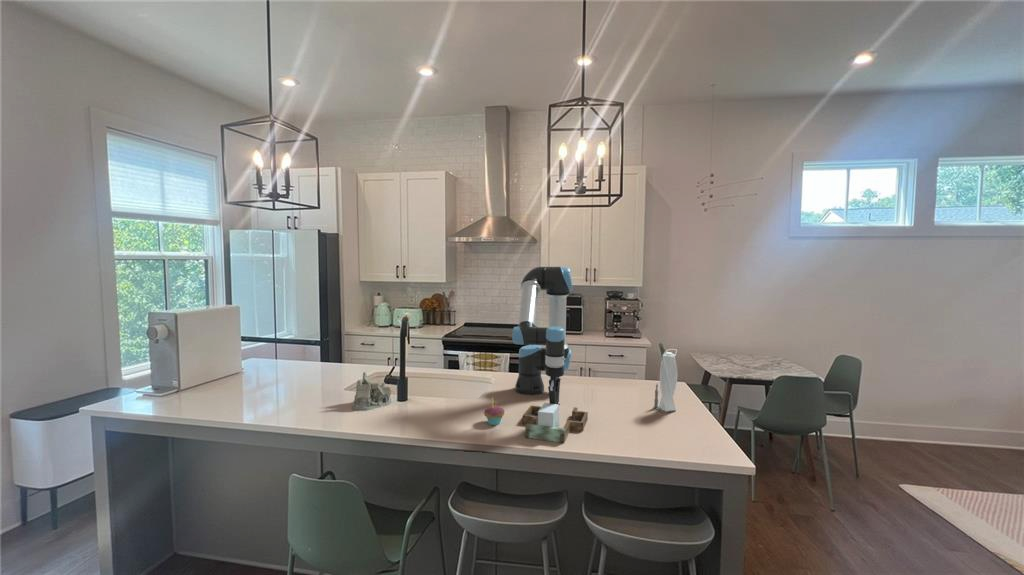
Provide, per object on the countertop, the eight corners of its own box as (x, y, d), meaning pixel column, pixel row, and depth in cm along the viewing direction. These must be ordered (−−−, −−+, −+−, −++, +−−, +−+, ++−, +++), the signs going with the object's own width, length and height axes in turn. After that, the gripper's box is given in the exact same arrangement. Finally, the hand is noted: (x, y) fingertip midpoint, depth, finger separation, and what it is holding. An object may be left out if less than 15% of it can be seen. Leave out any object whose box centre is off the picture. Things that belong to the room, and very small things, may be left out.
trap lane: (512, 435, 166) (513, 423, 166) (533, 410, 195) (533, 399, 195) (577, 445, 159) (577, 431, 158) (588, 416, 187) (589, 405, 187)
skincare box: (543, 427, 175) (544, 402, 174) (559, 429, 173) (559, 404, 172) (536, 437, 165) (537, 410, 164) (553, 440, 163) (553, 413, 162)
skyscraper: (668, 405, 202) (670, 346, 200) (680, 411, 195) (682, 350, 193) (653, 407, 200) (655, 347, 198) (664, 413, 192) (666, 351, 190)
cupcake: (499, 428, 174) (499, 399, 173) (480, 425, 177) (480, 396, 176) (507, 420, 182) (507, 392, 181) (488, 417, 185) (488, 390, 184)
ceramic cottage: (346, 409, 193) (349, 376, 192) (363, 399, 209) (365, 368, 208) (380, 413, 191) (382, 380, 190) (394, 403, 207) (396, 372, 207)
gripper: (560, 370, 168) (560, 428, 170) (566, 362, 180) (566, 416, 182) (542, 368, 170) (541, 426, 173) (549, 360, 182) (548, 414, 184)
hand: (554, 421), depth 177 cm, fingers closed
